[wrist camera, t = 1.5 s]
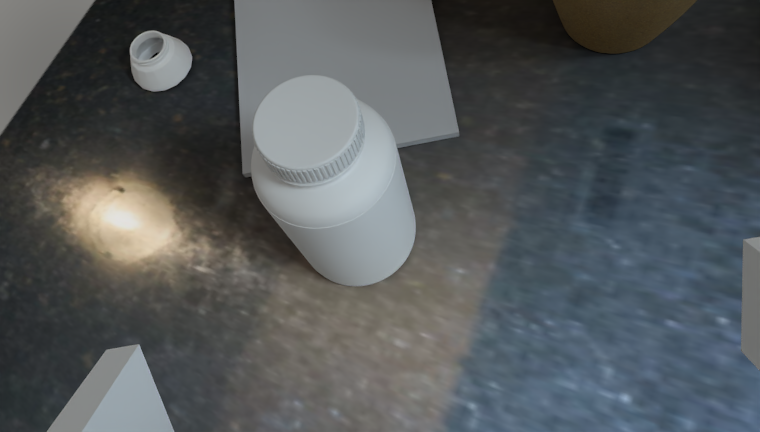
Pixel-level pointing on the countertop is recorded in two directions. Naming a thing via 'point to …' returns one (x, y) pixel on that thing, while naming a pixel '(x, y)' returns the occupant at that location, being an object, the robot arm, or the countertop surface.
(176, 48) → the lidless jar
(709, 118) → the countertop surface
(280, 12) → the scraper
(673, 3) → the plant pot
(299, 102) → the pill bottle
